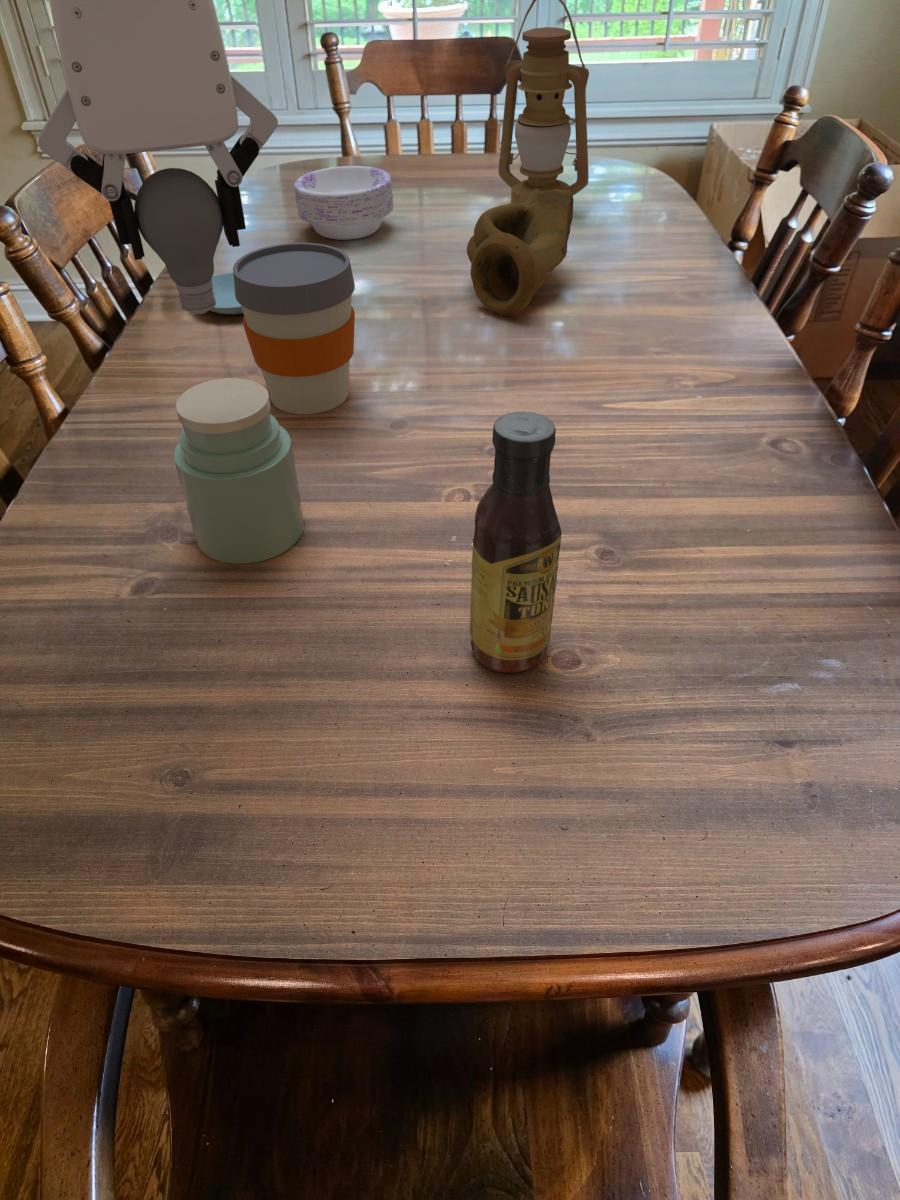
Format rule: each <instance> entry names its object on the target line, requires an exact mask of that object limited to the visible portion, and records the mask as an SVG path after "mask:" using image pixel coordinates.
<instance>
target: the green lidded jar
mask: <svg viewBox="0 0 900 1200" xmlns="http://www.w3.org/2000/svg"><path fill="white" fill-rule="evenodd" d="M271 406H272V405H271V398H270V395H269V392H268V389H267V387H265V386H264V385H262V383H259V382H257V381H254V380H251V379H247V378H241V377H227V378H225V377H224V378H218V379H211V380H207V381H204V382H202V383H198V384H196V385H194V386H192V387H190V388H188V389H187V390H185V391H183V393H181V394H180V395H179V397H178V398H177V400H176V402H175V410H176V415H177V419H178V421H179V423H180V424H181V425H182V428H181V430H180V432H179V435H178V442H177V443H176V445H175V447H174V449H173V461H174V466H175V469H176V473H177V476H178V480H179V484H180V487H181V492H182V494H183V495H182V496H183V499H184V502H185V506H186V510H187V513H188V517H189V520H190V524H191V528H192V532H193V535H194V539H195V542H196V545H197V547H198V549H199V550H200V551H201V552H202V553H203V554H204V555H205V556H207V557H209V558H211V559H213V560H214V561H217V562H221V563H226V564H236V565H245V564H246V565H247V564H255V563H259V562H263V561H267V560H270V559H272V558H275V557H277V556H280V555H281V554H283V553H285V552H287V551H288V550H289V549H291V548H292V547H294V546H295V544H296V543H297V542H299V540H300V539H301V537H302V535H303V532H304V530H305V517H304V512H303V506H302V500H301V494H300V488H299V480H298V475H297V470H296V469H297V468H296V463H295V457H294V451H293V444H292V439H291V435H290V433H289V431H287V430H286V429H285V428H284V427H283V426H281V425H280V424H279V422H278V419H277V418H276V417H275V416H274V415H273V414H271V412H270V410H271Z"/></svg>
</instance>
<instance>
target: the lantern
mask: <svg viewBox="0 0 900 1200" xmlns="http://www.w3.org/2000/svg"><path fill="white" fill-rule="evenodd" d="M558 1H559V3H560V4H561V5H562V6H563V9H564V11H565V13H566V15H567V18H568V21H569V24H570V29H571V30H569V29H566V28H562V27H553V26H552V27H549V26H548V27H547V26H544V27H536V28H531V29H528V30H525V31H523V32H522V30H523V28H524V25H525V22H526V20H527V17H528V15H529V13H530V12H531V10H532V8H533V6H534V5H535V3H536V2H537V0H532V1H531V3H530V5H529V7H528V9H527V10H526V12H525V15H524V16H523V17H524V18H523V20H522V22H521V26H520V28H519V32H518V34H517V37H516V40H515V42H514V44H513V47H512V49H511V51H510V55H509V58H508V60H507V62H505V63H504V73H505V81H506V85H505V87H506V88H505V97H504V107H503V109H504V110H503V119H502V129H501V139H500V147H499V148H500V150H499V160H498V175H499V177H500V179H501V180H502V181H503V182H504V183H505V184H506V185H507V186H508V187H509V188H510V193H511V194H510V203H509V204H512V203H516V202H517V201H518V200H519V199H521V198H522V197H525V196H527V195H528V194H530V193H531V192H532V191H533V190H534V189H536V188H537V189H538V190H539V191H550V190H553V189H560V190H563V191H566V190H568V191H570V192H571V193H572V195H573V197H574V196H575V195H576V194H578V193H579V192H581V191H582V190H584V189H585V188H586V187H587V186H588V184H589V155H588V154H589V153H588V152H589V150H588V149H589V148H588V146H589V145H588V123H587V122H588V121H587V96H586V95H587V93H586V91H587V84H588V80H589V76H590V71H589V69H588V68H586V65H585V63H584V62H583V58H582V53H581V51H580V45H579V41H578V37H577V33H576V29H575V26H574V23H573V20H572V17H571V13H570V11H569V9H568V7H567V5H566V3H565V1H564V0H558ZM520 36H522V37H521V39H522V41H523V42H526V43H527V42H528V43H527V46H525V48H526V49H527V50H526V51H524V52H523V53H522V60H513V59H512V56H513V54H514V51H515V49H516V47H517V44H518V41H519V39H520ZM572 36H573V39H574V43H575V46H576V51H577V53H578V57H579V61H580V63H581V66H580V65H575V64H570V57H569V56H570V52H569V51H568V50H566V49H565V48H566V47H567V45H566V44H565V42H566V41H568V40H570V39H571V38H572ZM520 77H521V81H520V83H519V79H520ZM571 88H573V92H574V93H573V94H574V97H573V98H574V99H573V100H574V118H572V117H571V116H570V115H569V114H567V113H566V108H565V107H564V105H563V103H564V99H565V93H566V91H567V90H570V89H571ZM518 90H520V91H522V92H524V98H525V105H526V106H524V109H523V110H522V113H519V114H518V117H517V122H516V124H515V115H516V114H515V113H516V105H517V96H518V95H517V94H518ZM570 121H572V122H570ZM573 124H575V127H574V128H575V152H568V151H567V148H568V145H569V142H570V138H571V133H572V126H571V125H573ZM514 125H515V127H514ZM513 134H514V136H513ZM513 137H514V138H515V142H516V146H517V151H518V154H516V156H515V157H514V153H513V152H512V147H513V145H512V144H513ZM566 154H567V155H575V158H574V159H573V161H572V166H573V167H574V171H575V172H576V181H575V182H573V183H572V184H570V185H569V184H568V183H567V182H565V181H563V180H559V179H557V178H558V177H559V176H560V175H561V174H563V173H564V165H563V162H564V158H565V155H566ZM518 157H519V160H520V164H521V166H520V167H519V173H520V174H521V175H522V176H525V177H527V179H523V180H520V179H518V178H517V177H516V176H515V175H514V174H513V173H512V172H511V168H510V165H513V163H514V160H516V159H518Z"/></svg>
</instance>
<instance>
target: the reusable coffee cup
mask: <svg viewBox="0 0 900 1200" xmlns="http://www.w3.org/2000/svg"><path fill="white" fill-rule="evenodd" d="M350 259H351V258H350V257H349V255H348V254H347V253H346V252H345V251H343V250H342V249H340V248H338V247H335V246H332V245H327V244H322V243H316V242H315V243H314V242H288V243H280V244H274V245H267V246H264V247H261V248H258V249H256V250H252V251H250V252H248V253H246V254H244V255H242V256H241V257H240V258H238V259H237V260H236V261H235V263H234V264H233V267H232V273H233V276H234V288H235V297H236V300H237V301H238V303H239V304H240V305H241V307H242V310H243V313H244V314H243V319H242V326H243V330H244V332H245V335H246V339H247V342H248V344H249V348H250V350H251V354H252V357H253V360H254V363H255V364H256V366H257V367H258V368H260V370H261V372H262V373H261V374H262V376H263V379H264V382H265V385H266V389H267V391H268V393H269V399H270V402H271V403H272V404H273V406H274V407H275V408H276V409H278V410H280V411H282V412H285V413H288V414H293V415H294V414H295V415H315V414H320V413H321V414H322V413H324V412H328V411H331V410H334V409H336V408H337V407H339V406H341V405H342V404H344V403H345V401H346V400H347V399H348V398H349V394H350V366H351V365H350V363H351V362H350V361H351V359H352V358H353V356H354V354H355V353H354V349H355V320H356V312H355V309H354V306H352V295H353V293H354V291H355V290H356V289H355V285H356V284H355V279H354V274H353V269H352V265H351V260H350Z"/></svg>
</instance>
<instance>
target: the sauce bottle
mask: <svg viewBox="0 0 900 1200" xmlns="http://www.w3.org/2000/svg"><path fill="white" fill-rule="evenodd" d="M556 430H557V429H556V426H555V424H554V422H553V421H552V419H551V418H549V417H547V416H545V415H543V414H541V413H537V412H533V411H513V412H508V413H505V414H503V415H501V416H500V417H498V418H497V419H496V420H495V421H494V423H493V428H492V437H491V438H492V439H491V441H492V445H493V447H494V459H493V460H494V461H493V464H494V467H493V472H492V478H491V479H492V484H491V485H490V486H489V487H488V488H487V489H486V492H484V493H483V495H482V496H481V498H480V500H479V502H478V504H477V507H476V510H475V516H474V535H473V538H472V551H471V552H472V553H471V554H472V555H471V584H470V586H471V587H470V610H469V611H470V614H469V615H470V617H469V618H470V619H469V634H470V638H471V639H470V646H471V651H472V652H473V655H474V657H475V658H476V660H477V661H478V662H479V663H481V664H482V665H483V666H484V667H485V668H488V669H489V670H491V671H494V672H497V673H498V672H499V673H506V674H507V673H508V674H512V673H520V672H525V671H527V670H528V671H529V670H531V668H534V667H536V666H537V665H538V664H539V663H540V662H541V660H542V659H543V657H544V655H545V653H546V651H547V649H548V644H549V642H550V639H551V633H552V632H551V631H552V623H553V614H554V607H555V606H554V604H555V595H556V589H557V578H558V571H559V561H560V553H561V543H562V535H563V532H562V529H561V524H560V521H559V518H558V514H557V511H556V508H555V504H554V500H553V495H552V491H551V486H550V482H551V476H550V467H551V456H552V452H553V450H554V448H555V444H556Z"/></svg>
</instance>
